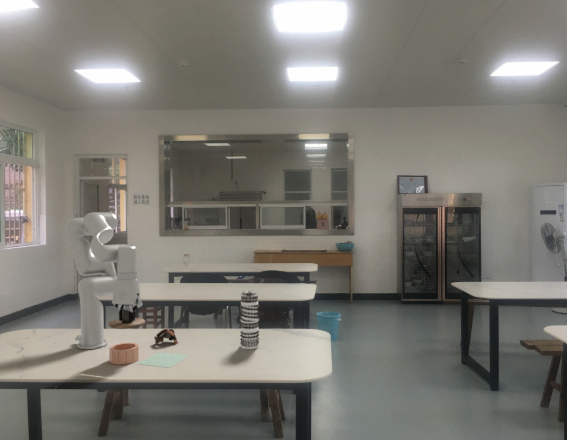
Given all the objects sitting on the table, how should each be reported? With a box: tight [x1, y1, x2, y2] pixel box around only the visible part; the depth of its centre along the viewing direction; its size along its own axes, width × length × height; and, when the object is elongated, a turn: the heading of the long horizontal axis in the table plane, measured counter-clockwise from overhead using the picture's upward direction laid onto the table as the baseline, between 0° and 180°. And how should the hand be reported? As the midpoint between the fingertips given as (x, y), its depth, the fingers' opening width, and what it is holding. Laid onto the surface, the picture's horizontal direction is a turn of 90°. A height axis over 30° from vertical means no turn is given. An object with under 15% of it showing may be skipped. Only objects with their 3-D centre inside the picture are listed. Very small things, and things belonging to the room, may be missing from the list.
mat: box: [136, 351, 189, 368], centre depth 177 cm, size 15×15×1 cm
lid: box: [108, 308, 146, 330], centre depth 176 cm, size 14×14×6 cm
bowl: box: [109, 342, 140, 366], centre depth 176 cm, size 11×11×6 cm
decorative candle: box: [238, 290, 260, 350], centre depth 195 cm, size 9×9×25 cm
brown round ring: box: [154, 328, 179, 346], centre depth 200 cm, size 12×10×8 cm
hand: (127, 320), depth 176 cm, fingers closed on lid, 4 cm apart
